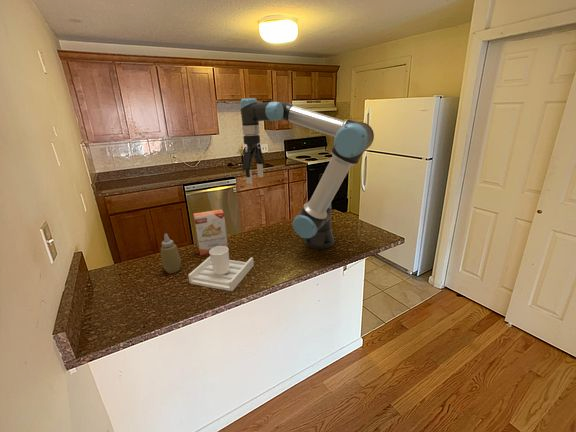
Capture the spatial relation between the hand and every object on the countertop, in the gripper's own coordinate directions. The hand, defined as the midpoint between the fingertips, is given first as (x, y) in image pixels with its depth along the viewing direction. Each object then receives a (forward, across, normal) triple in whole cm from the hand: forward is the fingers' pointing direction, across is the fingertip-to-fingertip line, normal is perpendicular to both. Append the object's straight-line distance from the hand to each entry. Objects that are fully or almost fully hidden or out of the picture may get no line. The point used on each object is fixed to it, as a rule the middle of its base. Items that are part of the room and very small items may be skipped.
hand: (255, 180), depth 136 cm
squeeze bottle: (+34, +34, -29) cm, 56 cm away
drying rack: (+34, +31, -5) cm, 47 cm away
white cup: (+32, +32, -5) cm, 46 cm away
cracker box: (+35, +13, -21) cm, 42 cm away
